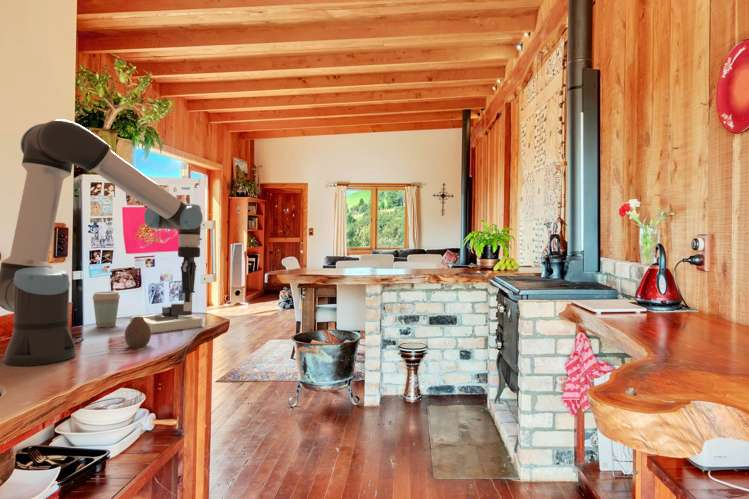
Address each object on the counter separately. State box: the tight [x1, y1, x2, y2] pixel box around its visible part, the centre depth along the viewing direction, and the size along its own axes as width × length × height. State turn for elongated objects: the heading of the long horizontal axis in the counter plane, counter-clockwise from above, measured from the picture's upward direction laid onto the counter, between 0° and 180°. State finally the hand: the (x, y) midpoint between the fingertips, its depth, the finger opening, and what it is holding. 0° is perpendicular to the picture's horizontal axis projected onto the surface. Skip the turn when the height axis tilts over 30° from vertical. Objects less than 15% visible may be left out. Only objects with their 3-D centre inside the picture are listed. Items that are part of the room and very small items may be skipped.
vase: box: [124, 316, 152, 349], centre depth 137 cm, size 7×7×9 cm
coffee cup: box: [91, 291, 121, 328], centre depth 164 cm, size 8×8×12 cm
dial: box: [154, 302, 193, 322], centre depth 169 cm, size 12×8×6 cm, turn 114°
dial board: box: [129, 313, 203, 334], centre depth 168 cm, size 18×18×3 cm
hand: (187, 310), depth 169 cm, fingers closed
